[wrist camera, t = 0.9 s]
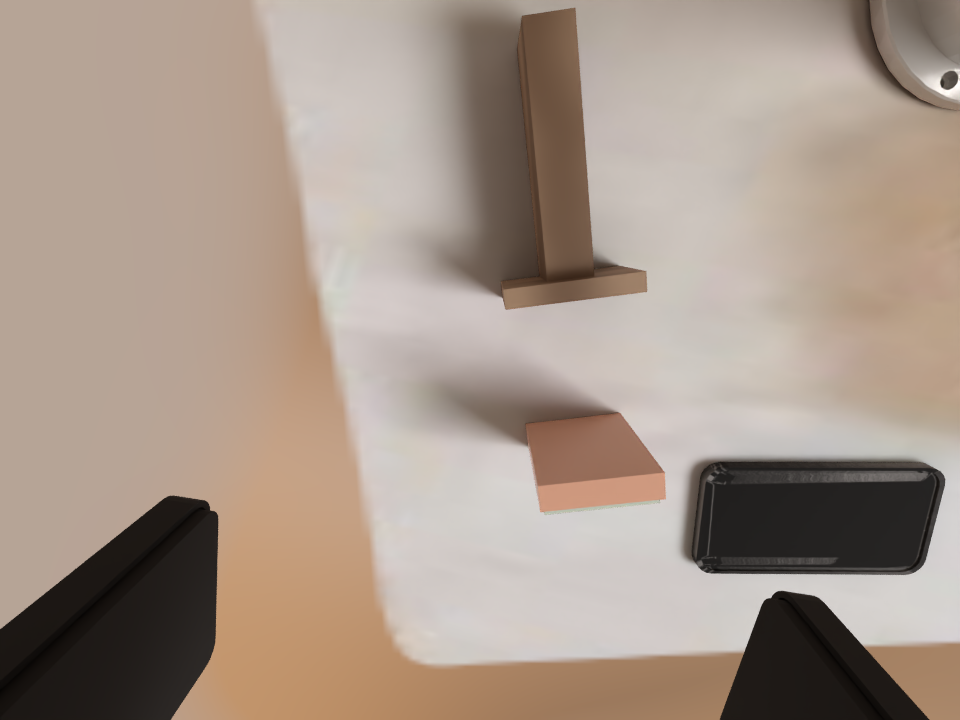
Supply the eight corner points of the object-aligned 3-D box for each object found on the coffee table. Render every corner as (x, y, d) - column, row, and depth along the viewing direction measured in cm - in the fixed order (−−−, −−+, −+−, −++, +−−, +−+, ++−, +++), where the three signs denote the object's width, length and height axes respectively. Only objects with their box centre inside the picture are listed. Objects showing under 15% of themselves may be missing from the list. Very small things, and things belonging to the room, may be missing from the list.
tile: (619, 412, 30) (664, 472, 23) (621, 437, 31) (665, 504, 23) (525, 423, 31) (537, 486, 23) (528, 448, 31) (541, 517, 23)
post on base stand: (605, 36, 25) (633, -12, 21) (620, 282, 29) (647, 291, 24) (474, 56, 26) (470, 13, 21) (502, 297, 29) (505, 309, 24)
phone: (707, 467, 30) (949, 468, 30) (699, 459, 32) (933, 460, 31) (694, 574, 32) (921, 576, 32) (687, 563, 33) (907, 565, 33)
